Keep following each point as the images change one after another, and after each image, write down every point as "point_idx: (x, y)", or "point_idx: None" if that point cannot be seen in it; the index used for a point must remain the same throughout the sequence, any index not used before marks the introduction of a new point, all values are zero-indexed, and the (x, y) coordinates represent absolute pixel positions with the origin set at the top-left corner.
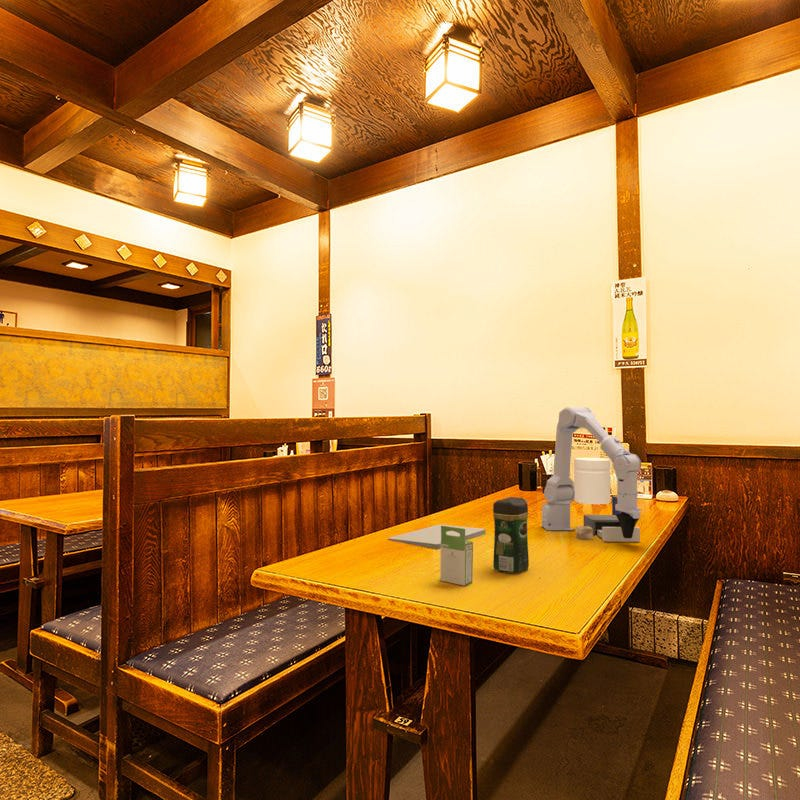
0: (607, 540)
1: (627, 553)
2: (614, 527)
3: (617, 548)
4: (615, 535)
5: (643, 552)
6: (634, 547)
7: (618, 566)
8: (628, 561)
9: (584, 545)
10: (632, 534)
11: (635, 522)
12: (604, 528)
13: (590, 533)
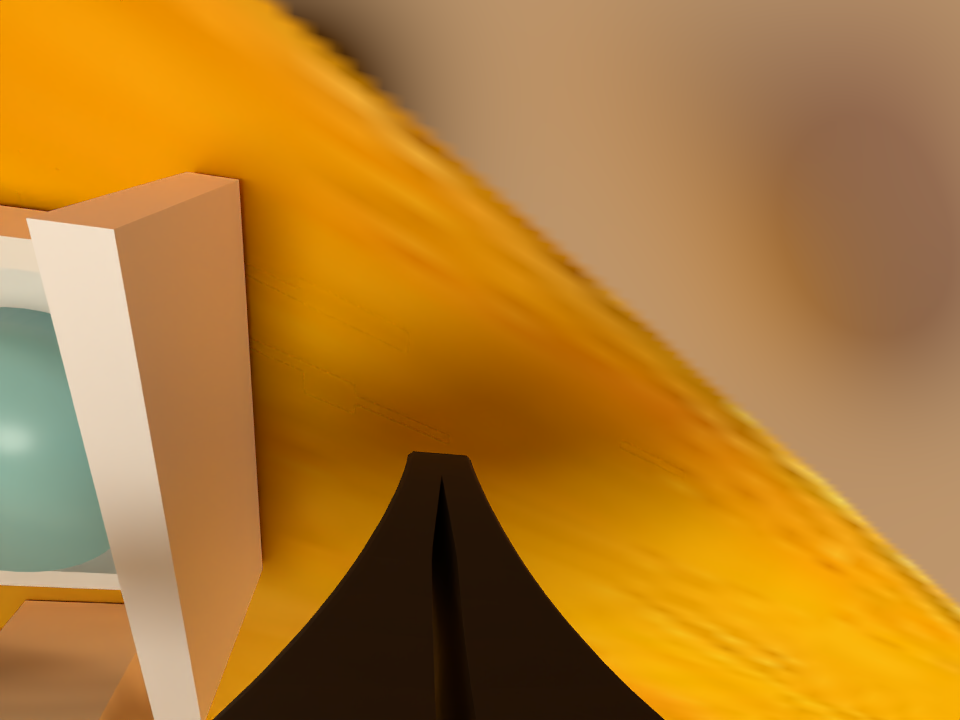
0: (259, 547)
1: (698, 541)
2: (175, 628)
3: (522, 544)
4: (232, 526)
5: (720, 407)
6: (511, 390)
7: (924, 686)
8: (878, 613)
9: None
10: (481, 488)
11: (593, 673)
12: (205, 703)
13: (130, 681)
